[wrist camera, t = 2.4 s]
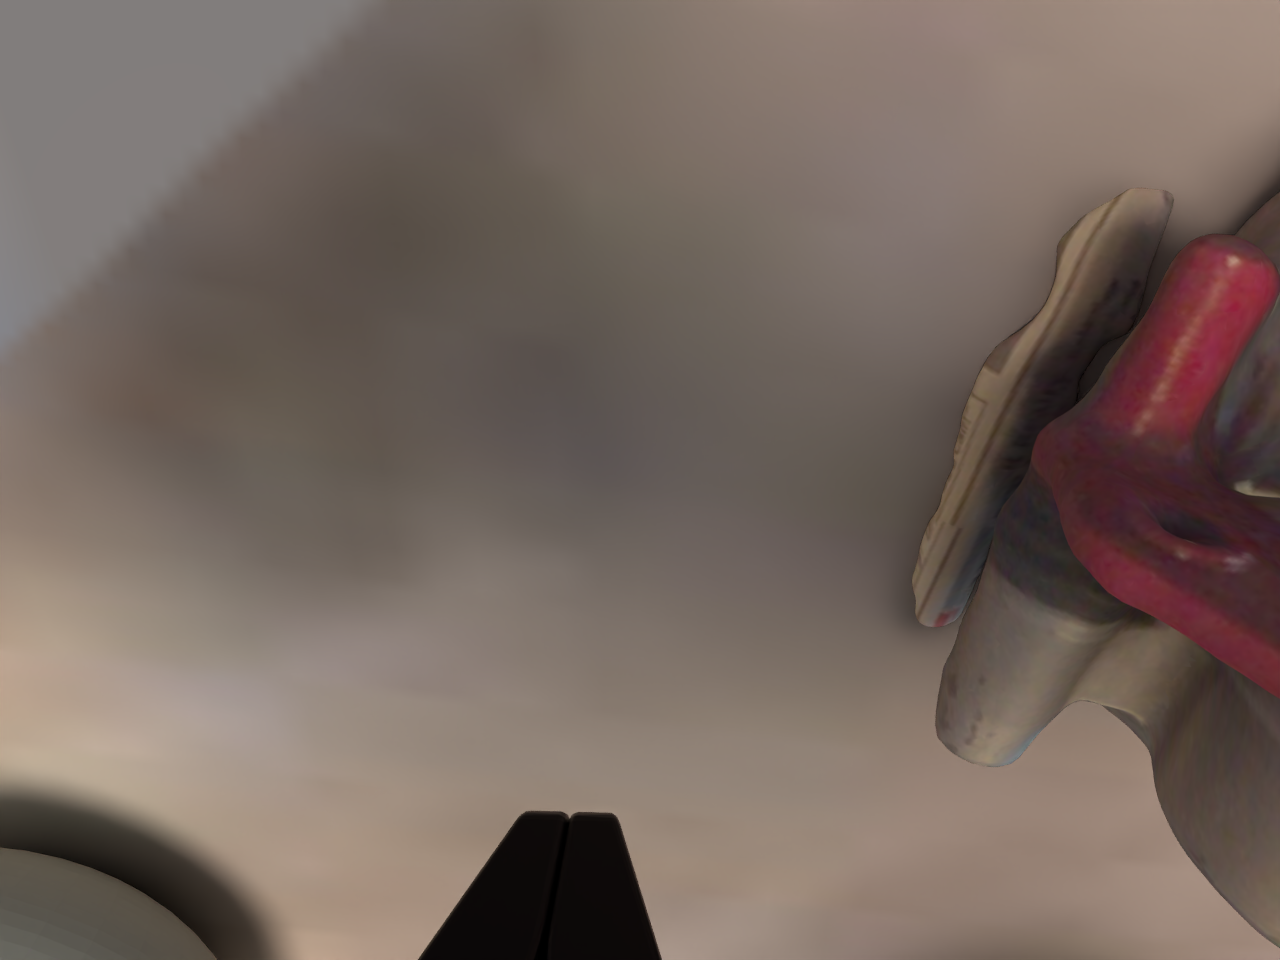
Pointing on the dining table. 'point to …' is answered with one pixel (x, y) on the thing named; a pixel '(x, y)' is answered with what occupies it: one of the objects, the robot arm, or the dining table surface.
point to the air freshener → (83, 915)
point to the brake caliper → (1131, 532)
